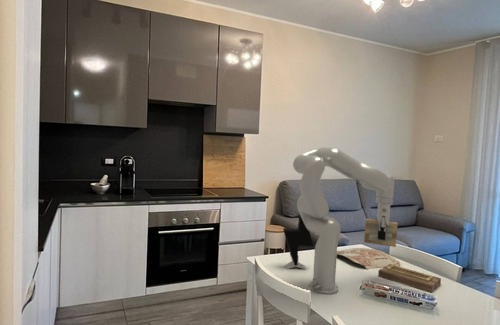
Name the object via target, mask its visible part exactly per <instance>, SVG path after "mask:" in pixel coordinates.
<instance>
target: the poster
mask: <svg viewBox="0 0 500 325" xmlns="http://www.w3.org/2000/svg"><path fill="white" fill-rule="evenodd" d="M337 255H339V256H343V257H345V258H347V259H349V260H350V261H352V262H353V263H356V264H358V265H360V266H362V267H363V268H365V269H366V270H372V269H382V268H384V267H386V266H387V265H389V264H392V265H395V266H399V267H401V262H400V261H399V260H397V259H396V258H394V256H391V254H388V253H387V252H385V251H383V250H379V249H373V248H366V247H355V248H354V247H353V248H346V249H341V250H337Z"/></svg>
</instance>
